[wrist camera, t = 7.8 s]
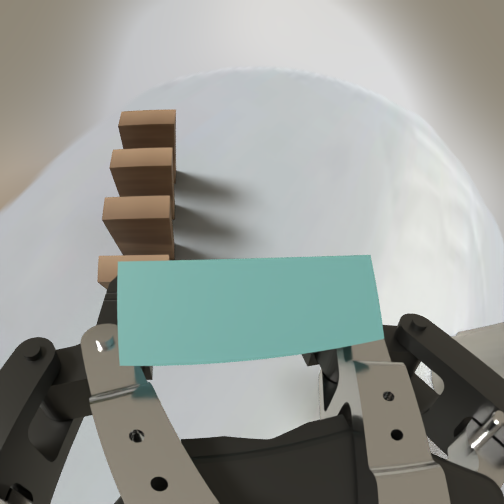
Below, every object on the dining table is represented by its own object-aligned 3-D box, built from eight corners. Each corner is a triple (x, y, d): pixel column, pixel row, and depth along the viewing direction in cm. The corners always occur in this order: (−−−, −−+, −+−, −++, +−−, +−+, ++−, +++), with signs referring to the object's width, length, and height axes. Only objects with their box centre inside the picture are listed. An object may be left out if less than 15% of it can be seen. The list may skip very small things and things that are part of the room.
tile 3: (127, 244, 29) (104, 197, 20) (174, 243, 30) (169, 195, 21) (126, 260, 29) (102, 219, 19) (174, 259, 30) (169, 217, 20)
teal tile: (161, 321, 14) (117, 261, 5) (259, 316, 15) (370, 254, 6) (163, 357, 14) (119, 365, 4) (263, 350, 15) (384, 338, 5)
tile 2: (126, 286, 28) (98, 255, 18) (175, 286, 29) (168, 254, 20) (126, 304, 27) (97, 281, 18) (175, 304, 28) (169, 280, 19)
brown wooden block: (134, 171, 32) (121, 111, 23) (176, 170, 33) (175, 109, 24) (132, 184, 31) (118, 125, 22) (175, 183, 32) (174, 123, 23)
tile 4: (130, 205, 31) (113, 149, 21) (174, 204, 32) (172, 147, 22) (129, 220, 30) (109, 167, 21) (174, 219, 31) (171, 165, 22)
